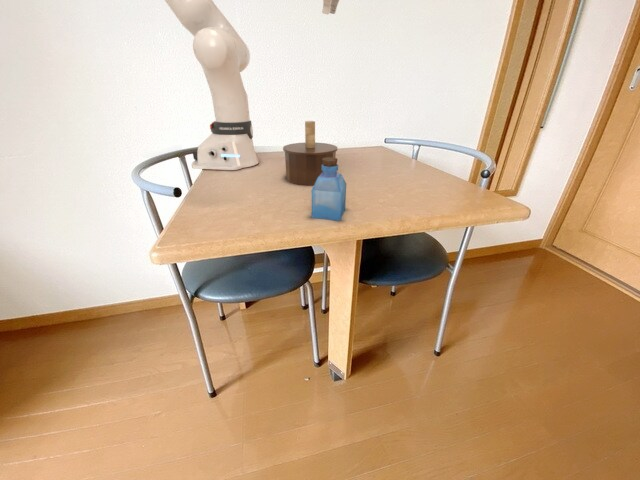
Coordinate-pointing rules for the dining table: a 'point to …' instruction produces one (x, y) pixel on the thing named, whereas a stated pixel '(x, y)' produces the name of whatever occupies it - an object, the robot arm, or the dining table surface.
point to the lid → (310, 144)
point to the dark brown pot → (304, 167)
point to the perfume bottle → (329, 192)
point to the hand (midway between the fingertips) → (328, 13)
